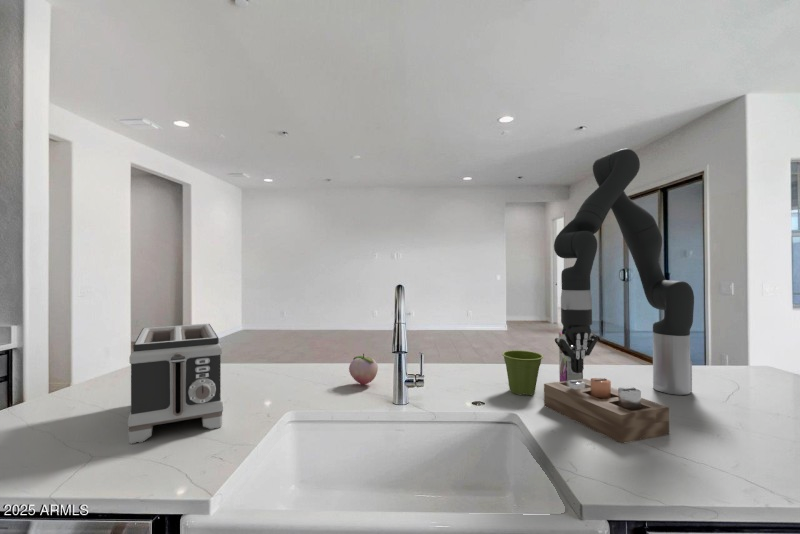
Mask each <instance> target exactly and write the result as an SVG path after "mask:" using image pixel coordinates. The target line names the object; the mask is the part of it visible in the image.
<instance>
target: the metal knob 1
mask: <svg viewBox="0 0 800 534" xmlns="http://www.w3.org/2000/svg"><path fill="white" fill-rule="evenodd" d="M567 386H568V387H570V388H573V389H575V390H576V389H584V388H585V383H584V382H582V381H578V380H568V381H567Z"/></svg>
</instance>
